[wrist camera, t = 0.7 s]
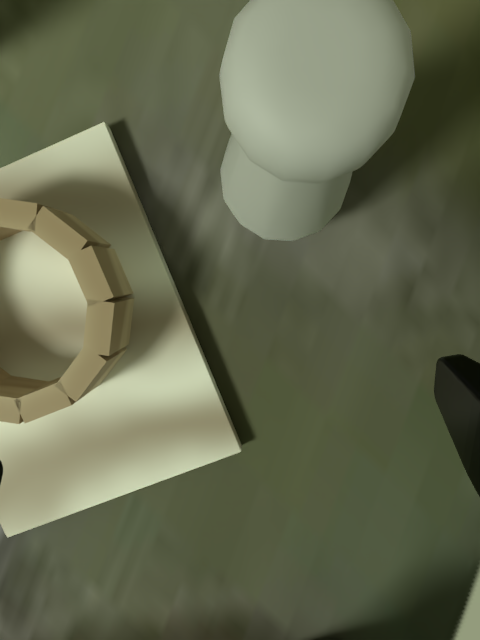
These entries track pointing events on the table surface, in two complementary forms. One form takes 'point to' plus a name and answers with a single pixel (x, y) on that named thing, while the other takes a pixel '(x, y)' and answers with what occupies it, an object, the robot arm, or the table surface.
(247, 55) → the salt shaker
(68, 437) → the socket
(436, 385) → the robot arm
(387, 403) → the table surface
